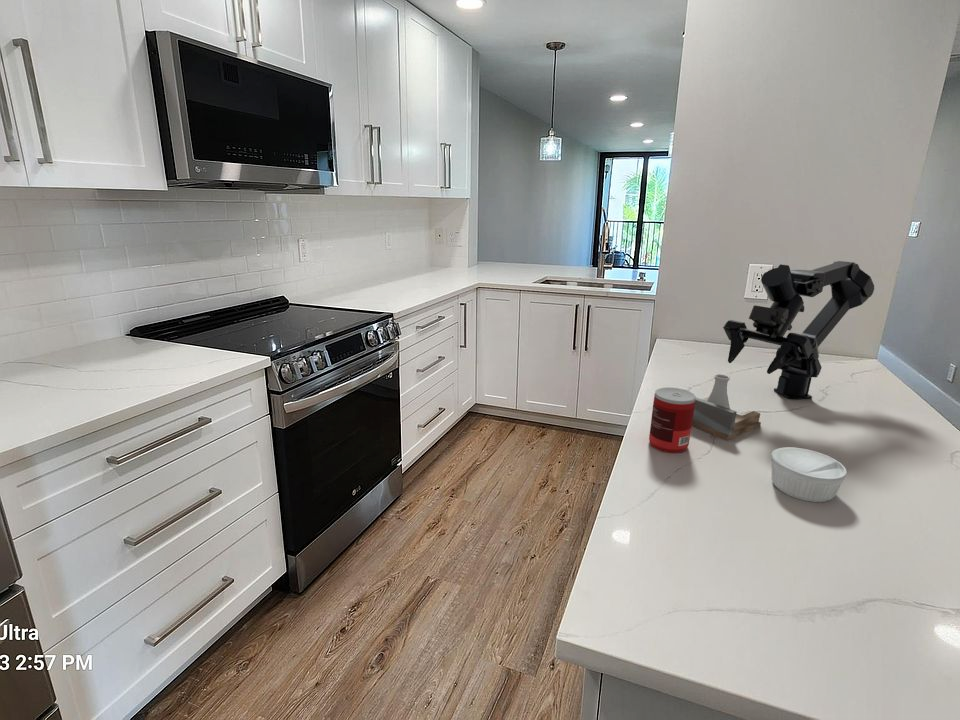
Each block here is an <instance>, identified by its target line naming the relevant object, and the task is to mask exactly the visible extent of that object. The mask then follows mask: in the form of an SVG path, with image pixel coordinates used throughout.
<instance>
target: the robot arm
mask: <svg viewBox="0 0 960 720" xmlns="http://www.w3.org/2000/svg"><path fill="white" fill-rule="evenodd" d="M859 265H860V264H858V263H856V262H853V261H844V260H837V261H834V262H833V263H830V264H827V265H823V266H820V267H818V268H814V269H810V270H809V269H791V268H790V266H789V264H782V263H781V264H779V265H778V266H777V267H775V268H771V269H768V271H766V272H764V273H763V274H762V276H761V277H760V278H761V279H760V281H761V282H760V283H762V287H763V288H764V290H765V293H766V295H767V297H768V299H769V300H770V301H772V304H771V305H770V307H767V306H761V305H757V304H756V305H753V307H752V309H751V311H750V314H749V317H748V319H749V320H752V321H753V323H752V326H753V328H755V329H748V328H747V325H746V323H745V322H742V321H738V320H734V319H730V320H727V321H726V322H725V323H724V325H723V327H722V328H723V330H724V332H725V334H726V336H727V338H728V340H729V341H730V347H729V353H728V359H727V362H728V364H732V363H733V362H734V361H735V359H736V358H737V357H738V355H739V354H740V353H741V352H742V350H743V349H744V348H745V343H747V341H748V340H749V339H750V340H756V341H760V342H763V343H767V344H771V345H776V346H779V347H778V348H777V350H776V353H775V357H774V358H773V359H772V361H771V362H770V364H769V366H768V367H767V369H766V374H768V375H770V374H772V373H774V372H775V371H777V370H781V373H780V375H779V377H778V381H777V387H776V388H775V387H774V388H773V391H774V392H776V393H778V394H780V395H782V396H783V397H785V398H787V399H789V400H794V399H797V400H799V399H813V396H812V395H810V394H809V392H810V387H811V382H812V378H814V379H815V378H818V376H819V375H820V373H821V370H822V364H821V362H820V360H819V358H820V355H819V354H820V353H819V351H820V350H819V347H820V345H821V344H823V342H824V341H825V339H826V338H827V337H828V336H829V334H831V332H832V331H833V329H834V328H835V327H836V326H837V325H838V323H839V322H840V321H841V320H842V319H843V318H844V317H845V315H846V314H847V313H848V311H850V310H851V309H854V308H857V307H860V306H862V305H863V304H864V303H865V302H866V301H868V299H869V298H870V297H872V295H874V292H875V284H874V282H873V279H872V277H871V276H870V275H869V274H868V273H866V272H865V271H864V270H863V269H861V268H860V266H859ZM827 286H829V287H830V288H831V289H830V290H831V298H830V299H829V300H828V301H827V303H826V304H824V306H823V307H822V308H821V310H820V311H819V312H818V314H816V315H815V317H814V318H813V320H811V322H810V323H809V324H808V325H807V327H806V328H805V329H804V330H803V331H802V333H796V332H788V334H787V335H786V333H787V331H791V330H792V329H793V325H792V324H793V322H794V320H795V318H796V317H797V315H798V314H799V313H804V312H805V306H804V304H805V303H804V300H803V298H802V297H808V298H814V297H816V296H818V295H820V294H821V293H822V292H823V289H824V287H827ZM785 335H786V337H784V336H785Z"/></svg>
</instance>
